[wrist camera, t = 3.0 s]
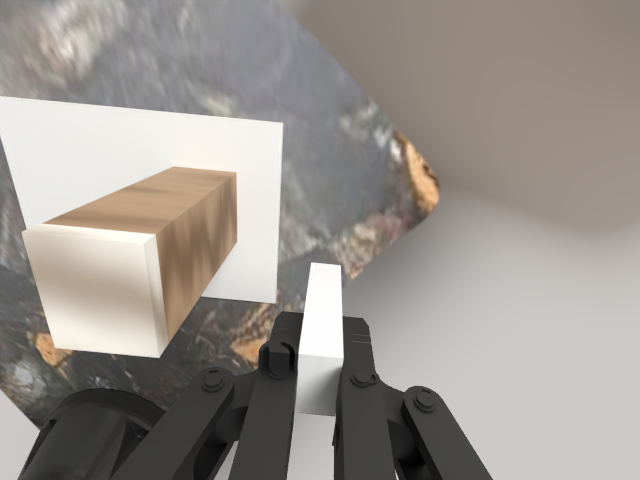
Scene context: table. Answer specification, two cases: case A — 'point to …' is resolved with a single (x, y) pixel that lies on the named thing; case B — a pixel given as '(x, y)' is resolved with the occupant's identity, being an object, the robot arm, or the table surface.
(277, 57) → the table surface
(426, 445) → the robot arm
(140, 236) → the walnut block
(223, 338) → the table surface
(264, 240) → the white mat
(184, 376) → the table surface
